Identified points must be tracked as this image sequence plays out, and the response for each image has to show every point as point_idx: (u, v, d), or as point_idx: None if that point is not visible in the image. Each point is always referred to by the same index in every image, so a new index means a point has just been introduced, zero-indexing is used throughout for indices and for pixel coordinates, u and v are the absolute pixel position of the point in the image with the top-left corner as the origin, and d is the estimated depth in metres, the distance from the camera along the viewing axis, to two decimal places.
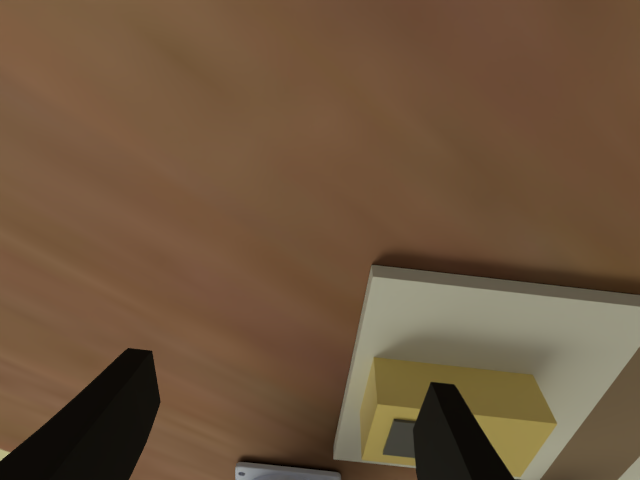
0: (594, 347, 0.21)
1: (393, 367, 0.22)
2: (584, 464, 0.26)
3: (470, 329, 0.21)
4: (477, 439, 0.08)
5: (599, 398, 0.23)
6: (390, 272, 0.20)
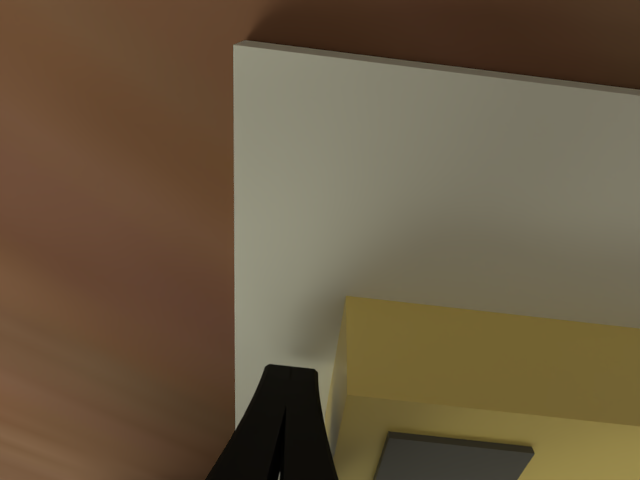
0: None
1: (388, 315, 0.10)
2: None
3: (485, 211, 0.09)
4: (310, 421, 0.08)
5: None
6: (286, 48, 0.08)
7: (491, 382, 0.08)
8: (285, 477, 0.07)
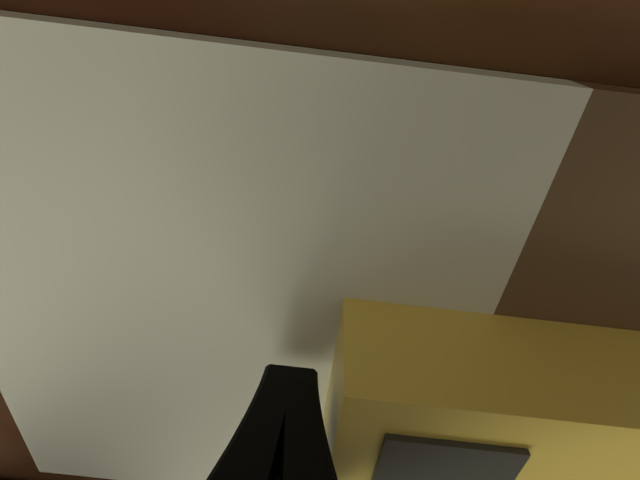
0: (435, 215, 0.09)
1: (386, 317, 0.10)
2: None
3: (135, 169, 0.09)
4: (309, 421, 0.08)
5: None
6: None
7: (487, 384, 0.08)
8: (284, 477, 0.07)
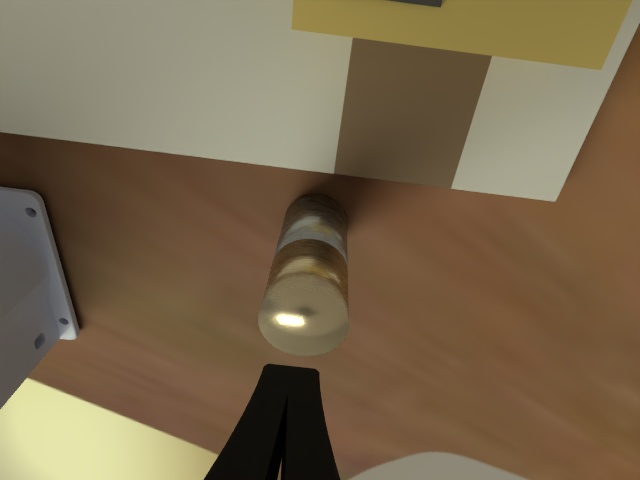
0: None
1: None
2: (395, 118, 0.15)
3: None
4: (311, 421, 0.08)
5: None
6: None
7: None
8: (287, 477, 0.07)
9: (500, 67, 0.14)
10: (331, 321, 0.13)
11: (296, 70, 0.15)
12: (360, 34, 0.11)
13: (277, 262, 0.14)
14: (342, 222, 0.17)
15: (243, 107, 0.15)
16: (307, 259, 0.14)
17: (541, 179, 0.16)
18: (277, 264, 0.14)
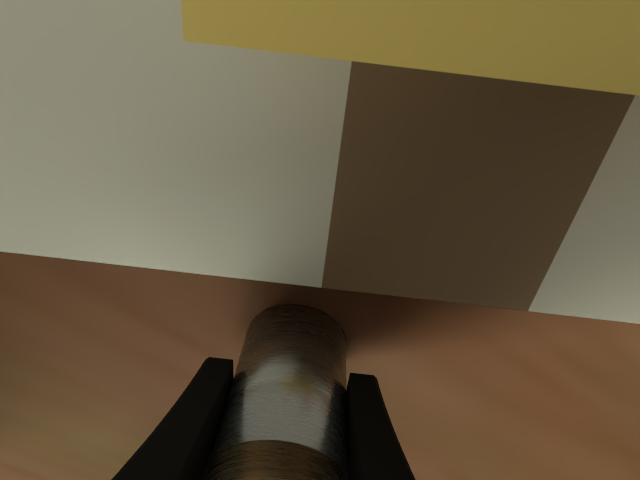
0: None
1: None
2: (434, 200, 0.08)
3: None
4: (381, 428, 0.08)
5: None
6: None
7: None
8: None
9: None
10: None
11: (243, 117, 0.07)
12: (373, 52, 0.04)
13: None
14: (338, 361, 0.10)
15: (150, 181, 0.08)
16: None
17: None
18: None
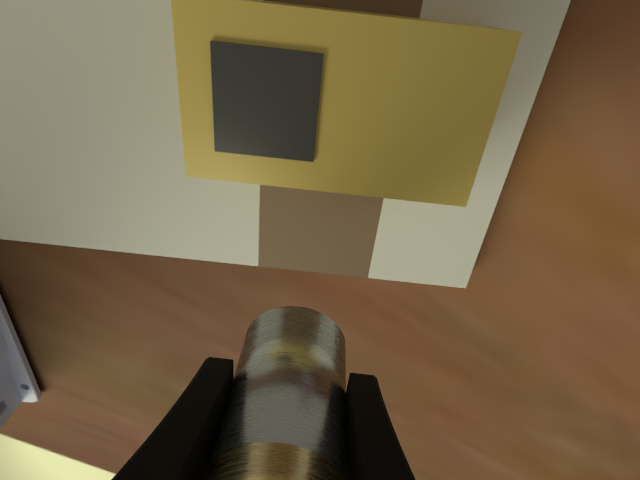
0: None
1: None
2: (308, 221, 0.17)
3: None
4: (381, 428, 0.08)
5: None
6: None
7: (293, 5, 0.11)
8: None
9: None
10: None
11: (213, 184, 0.16)
12: (247, 180, 0.13)
13: None
14: (338, 364, 0.10)
15: (169, 213, 0.17)
16: None
17: (449, 269, 0.18)
18: None
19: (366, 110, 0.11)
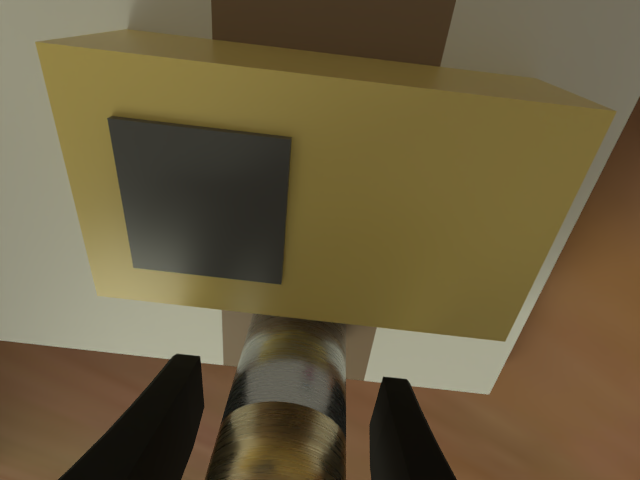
0: None
1: (165, 37, 0.08)
2: None
3: None
4: (420, 433, 0.08)
5: None
6: None
7: (243, 59, 0.07)
8: None
9: None
10: None
11: None
12: (187, 301, 0.09)
13: (220, 453, 0.08)
14: (338, 337, 0.11)
15: (104, 304, 0.13)
16: (271, 466, 0.07)
17: (469, 374, 0.14)
18: (219, 460, 0.08)
19: (360, 217, 0.07)
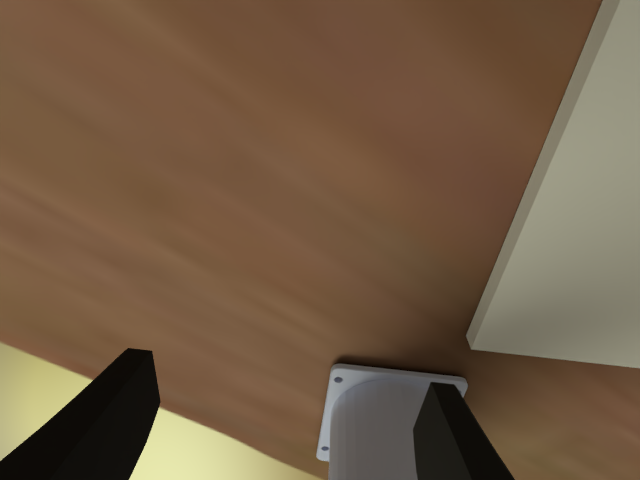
0: None
1: None
2: None
3: None
4: (477, 439, 0.08)
5: None
6: None
7: None
8: None
9: None
10: None
11: None
12: None
13: None
14: None
15: None
16: None
17: None
18: None
19: None
